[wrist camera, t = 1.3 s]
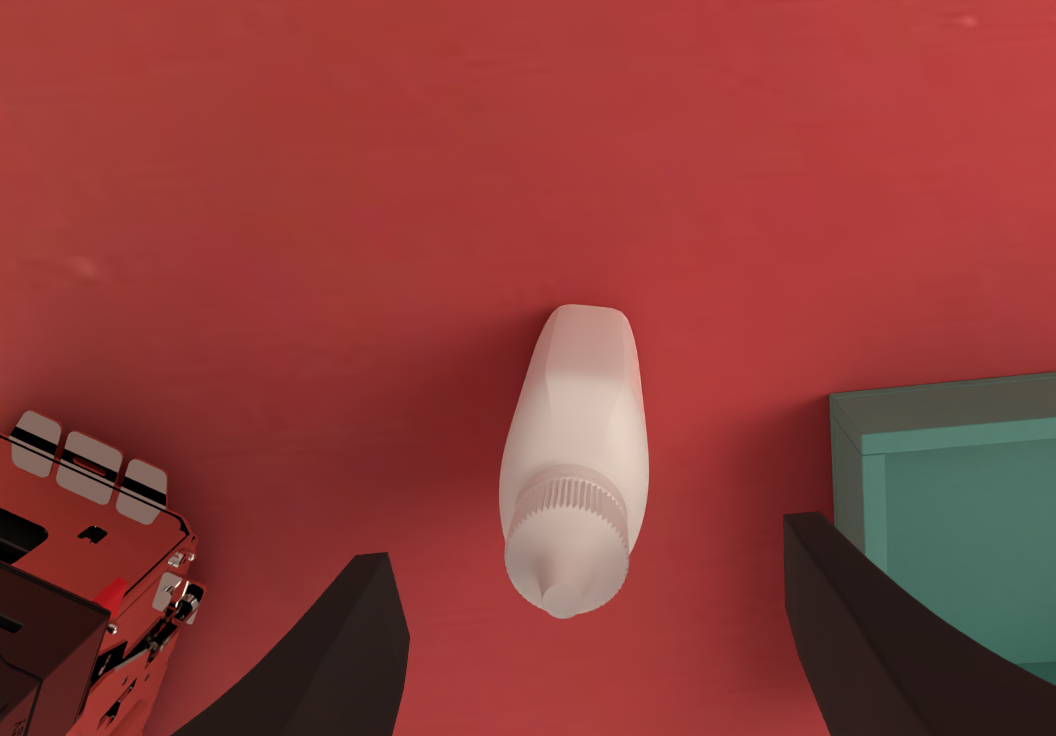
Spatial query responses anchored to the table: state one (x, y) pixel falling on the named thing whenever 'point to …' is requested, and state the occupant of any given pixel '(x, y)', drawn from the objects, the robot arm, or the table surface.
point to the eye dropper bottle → (575, 463)
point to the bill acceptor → (86, 584)
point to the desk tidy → (958, 503)
